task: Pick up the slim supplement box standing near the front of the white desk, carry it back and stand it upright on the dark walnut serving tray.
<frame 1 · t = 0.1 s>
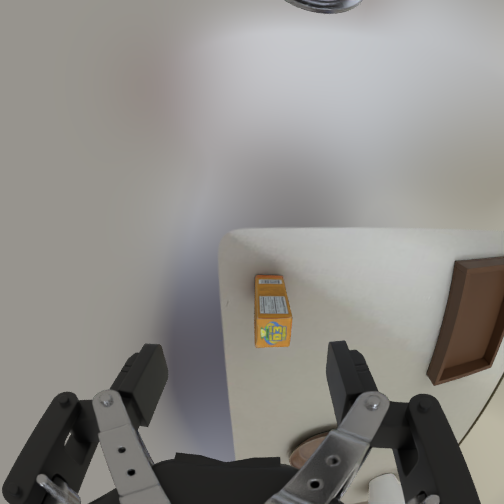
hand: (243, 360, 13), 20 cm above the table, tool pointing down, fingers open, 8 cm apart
supplement box: (269, 286, 34), on the table
cup: (381, 479, 49), on the table
saucer: (328, 445, 43), on the table
tray: (473, 317, 34), on the table
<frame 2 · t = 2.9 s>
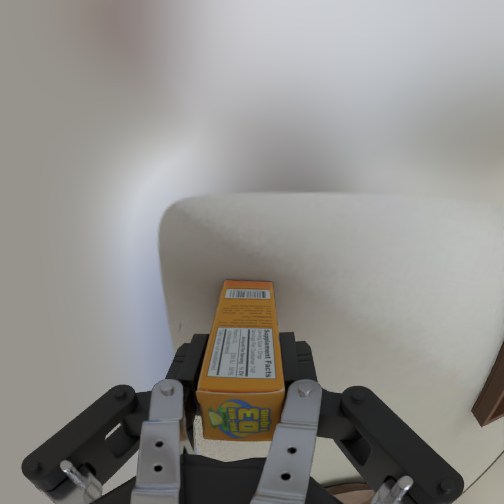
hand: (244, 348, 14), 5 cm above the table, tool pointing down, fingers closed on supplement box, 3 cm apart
supplement box: (250, 300, 19), on the table, touching gripper
saucer: (335, 496, 29), on the table
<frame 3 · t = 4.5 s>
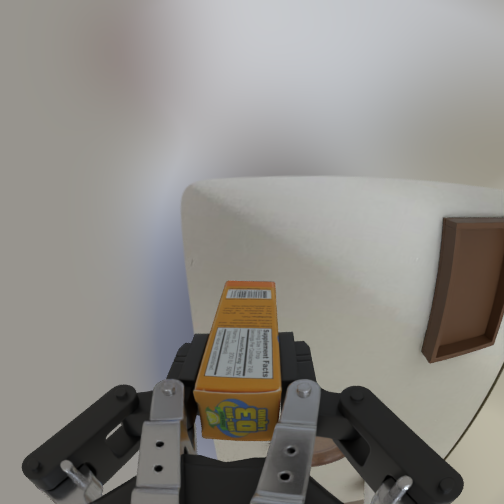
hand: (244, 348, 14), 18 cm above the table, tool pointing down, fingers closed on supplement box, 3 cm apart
supplement box: (253, 300, 19), point 13 cm above the table, touching gripper
cup: (378, 474, 47), on the table
saucer: (315, 434, 41), on the table
tray: (470, 285, 32), on the table
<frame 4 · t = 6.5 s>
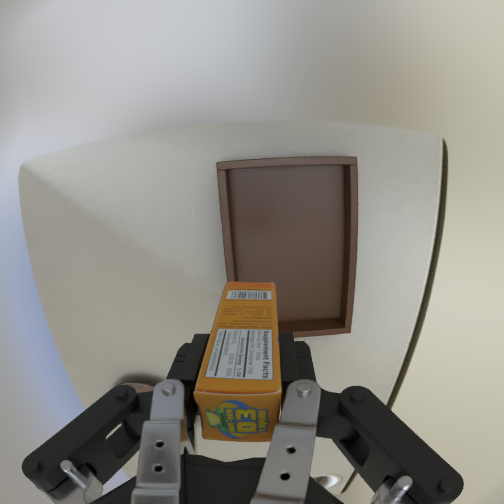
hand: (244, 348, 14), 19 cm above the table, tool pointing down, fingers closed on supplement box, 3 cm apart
supplement box: (253, 300, 19), point 14 cm above the table, touching gripper
tray: (290, 247, 32), on the table
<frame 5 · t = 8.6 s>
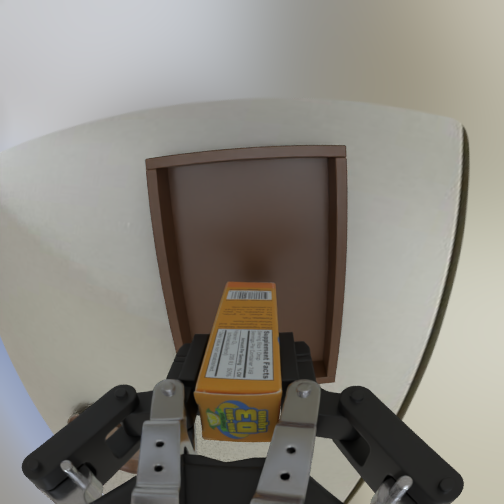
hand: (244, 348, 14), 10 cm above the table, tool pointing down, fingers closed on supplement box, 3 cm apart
supplement box: (253, 301, 19), point 5 cm above the table, touching gripper
saucer: (116, 435, 33), on the table
tray: (253, 272, 24), on the table
when the fingers open (6 cm above the table, at t = 10.1 s): supplement box stays where it is, resting on tray.
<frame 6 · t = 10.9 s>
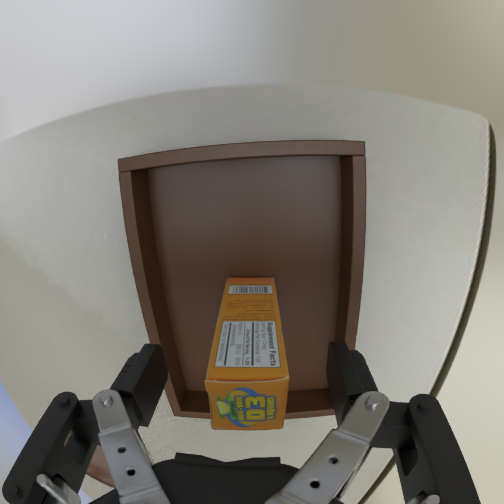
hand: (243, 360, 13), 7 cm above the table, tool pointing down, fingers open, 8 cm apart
supplement box: (253, 296, 20), resting on tray
saucer: (107, 454, 29), on the table
tray: (250, 293, 20), on the table
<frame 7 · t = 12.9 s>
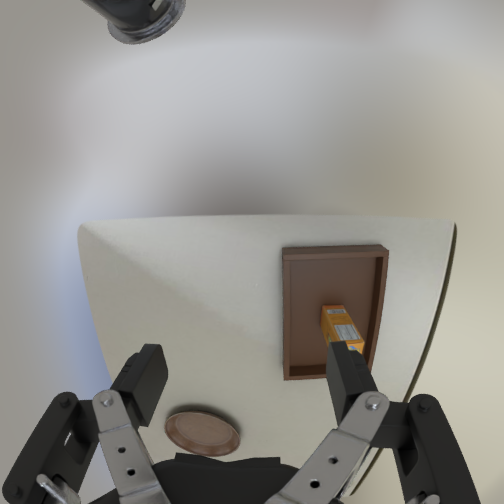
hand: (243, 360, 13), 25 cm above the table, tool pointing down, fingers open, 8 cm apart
supplement box: (332, 313, 39), resting on tray
saucer: (203, 426, 49), on the table
tray: (330, 312, 40), on the table
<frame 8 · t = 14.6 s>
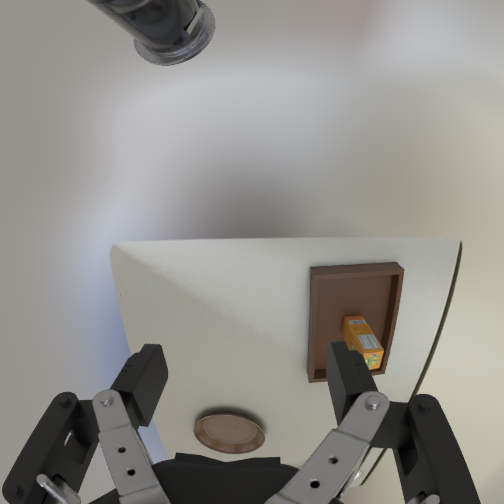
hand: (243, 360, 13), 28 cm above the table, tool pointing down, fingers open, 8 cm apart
supplement box: (352, 322, 43), resting on tray
saucer: (230, 426, 53), on the table
tray: (350, 321, 44), on the table
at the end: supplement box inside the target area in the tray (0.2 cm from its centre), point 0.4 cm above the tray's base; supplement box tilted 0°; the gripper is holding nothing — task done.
